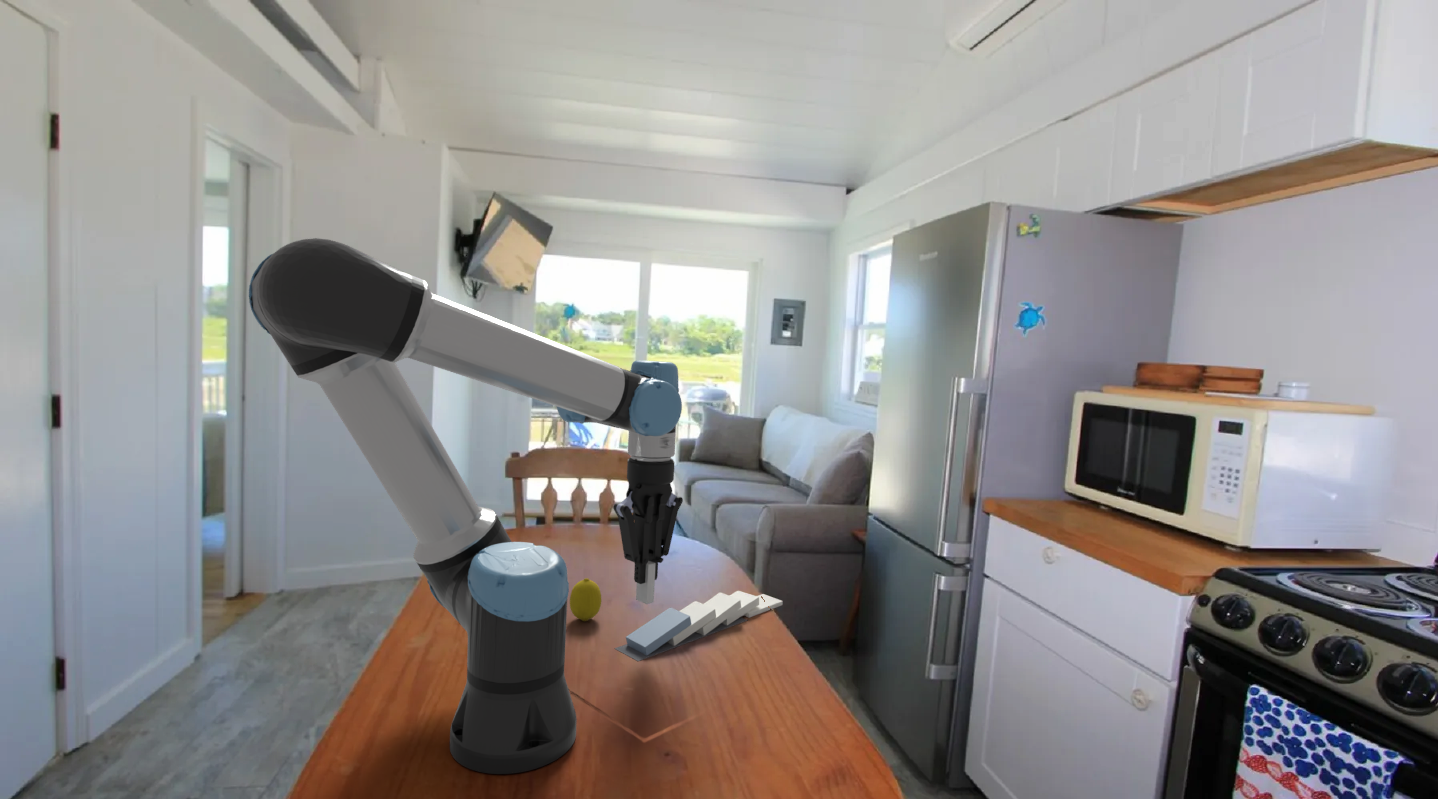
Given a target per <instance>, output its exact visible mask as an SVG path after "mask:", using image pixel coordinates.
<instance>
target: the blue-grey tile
mask: <svg viewBox="0 0 1438 799" xmlns="http://www.w3.org/2000/svg"><path fill="white" fill-rule="evenodd" d="M690 625H691V619H690V616H689V615H687V614H684V613H682V612H680V610H677V609H676V608H674V607H669V608H667V609H666V610H664V611H663V612H661V613H659V614H658V615H657V616H655V617H653V618H652V619H651V620H649V621H647V622H646V623H645V624H643V625H641V626H640V627H638V628H637V629H635V630H634V631H633V632H631V633H630V634H628V635H627V636H625V640H626V644H627V645H628V646H630V647H632V648H633V649H635V650H637V651H639V652H641V653H643V654H645V655H646V656H647V655H649V654H650V653H651V652H653V651H654V650H656V649H657V648H659V647H660V646H661V645H663V644H664V643H666V642H667V641H668V640H670V639H671V638H673V637H674V636H676V635H677V634H678V633H680V632H681V631H683V630H684V629H686V628H687V627H688V626H690Z"/></svg>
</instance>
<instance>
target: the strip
mask: <svg viewBox="0 0 1438 799" xmlns="http://www.w3.org/2000/svg"><path fill="white" fill-rule="evenodd" d="M745 622H748V619H745V618H743V617H742V616H741V617H740V618H738V619H736V620H735V621H733V622H732V623H730V624H729V625H724V624H722V623H720V624H719V625H718V626H716V627H715V628H714V629H712V630H711V631H710V632H709V633H707V634H706V635H705V636H704V635H701V634H699V633H697V632H694V633H693V634H691V635H690V636H688V637H687V638H685V639H684V640H682V641H681V642H679V643H678V644H677V645H675V646H674V645H672V644H670V643H668V642H666V643H664V644H663V645H661V646H660V647H659V648H657V649H656V650H654V651H653V652H651V653H650V654H649V655H647V656H646V655H645V654H643V653H641V652H639V651H637V650H635V649H633V648H632V647H630V646H628V645H627V643H626V644H623V645H620V646H617V647H614V649H615V650H616V651H618V652H620V653H622V654H624V655H625V656H627V657H629V658H631V659H632V660H635V661H637V662H641V661H643V660H645V659H648V658H651V657H654V656H656V655H659V654H662V653H664V652H668V651H669V650H670V651H671V650H672V649H675V648H678V647H680V646H684V645H687V644H688V643H691V642H694V641H696V640H699V639H702V638H704V637H708V636H710V635H713V634H715V633H719V632H721V631H723V630H726V629H729V628H731V627H734V626H737V625H739V624H741V623H745Z"/></svg>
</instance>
